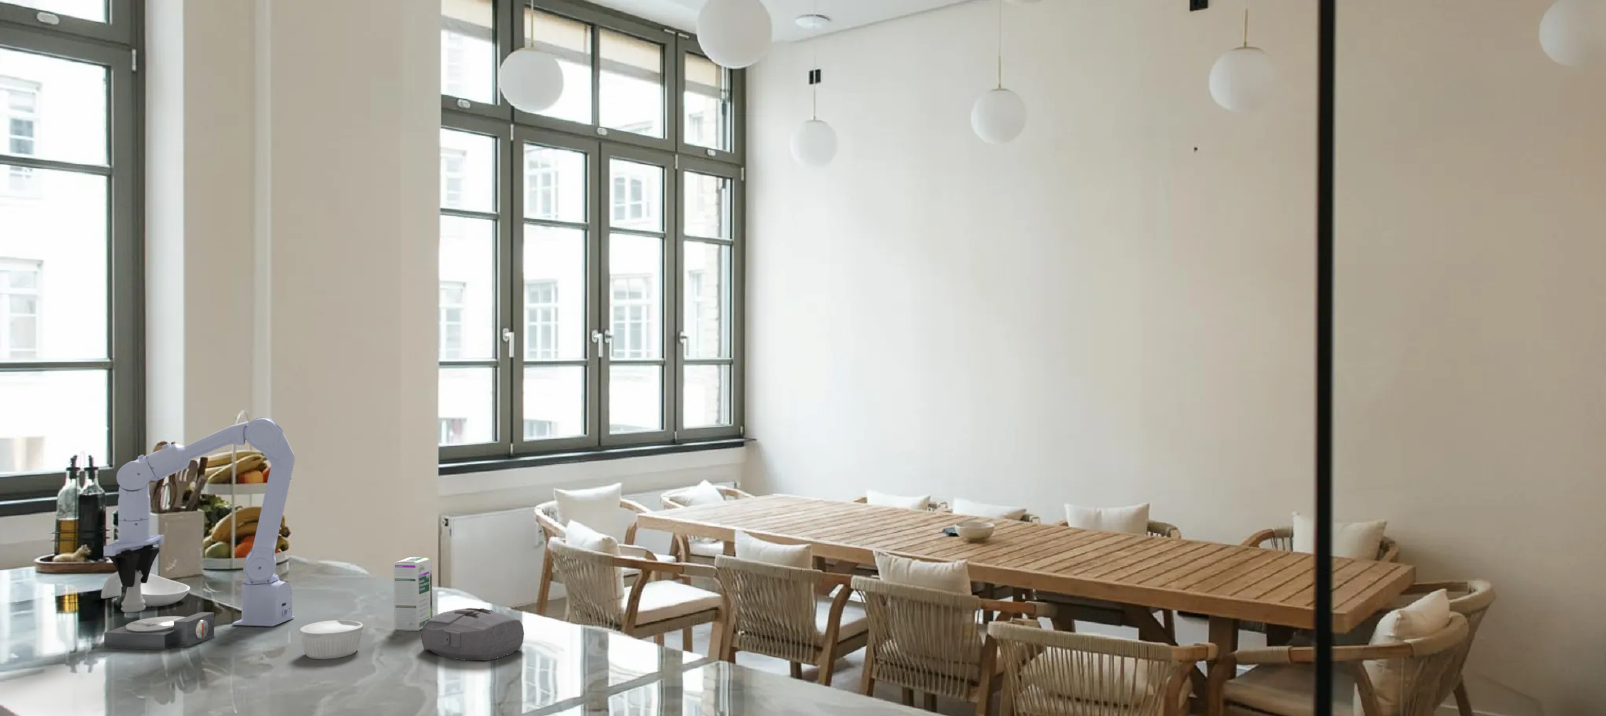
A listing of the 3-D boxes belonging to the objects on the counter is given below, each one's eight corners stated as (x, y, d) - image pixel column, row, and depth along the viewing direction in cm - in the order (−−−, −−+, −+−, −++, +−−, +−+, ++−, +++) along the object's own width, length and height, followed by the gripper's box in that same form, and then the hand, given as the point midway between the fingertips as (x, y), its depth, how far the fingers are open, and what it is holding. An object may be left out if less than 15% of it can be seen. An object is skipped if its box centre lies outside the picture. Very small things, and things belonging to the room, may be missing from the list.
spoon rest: (201, 601, 258) (201, 571, 258) (154, 612, 247) (154, 580, 247) (132, 593, 267) (132, 564, 267) (84, 603, 257) (84, 572, 257)
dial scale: (224, 634, 227) (224, 609, 227) (180, 650, 214) (180, 625, 214) (151, 631, 229) (151, 607, 229) (104, 647, 216) (104, 622, 216)
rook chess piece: (128, 607, 230) (129, 569, 229) (150, 607, 230) (151, 569, 230) (116, 612, 225) (117, 573, 225) (138, 612, 225) (139, 574, 225)
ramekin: (375, 648, 216) (375, 622, 216) (333, 663, 206) (333, 635, 206) (329, 643, 220) (329, 617, 220) (286, 658, 209) (286, 630, 209)
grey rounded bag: (533, 649, 216) (461, 636, 226) (534, 606, 216) (461, 595, 226) (476, 667, 203) (402, 653, 213) (476, 622, 203) (402, 610, 213)
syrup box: (418, 631, 229) (418, 562, 229) (392, 630, 231) (393, 561, 231) (433, 624, 235) (433, 557, 235) (408, 623, 236) (408, 556, 236)
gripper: (142, 513, 235) (142, 577, 235) (89, 524, 221) (90, 591, 221) (172, 514, 234) (172, 578, 234) (121, 524, 220) (121, 592, 220)
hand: (134, 584), depth 227 cm, fingers closed on rook chess piece, 3 cm apart
